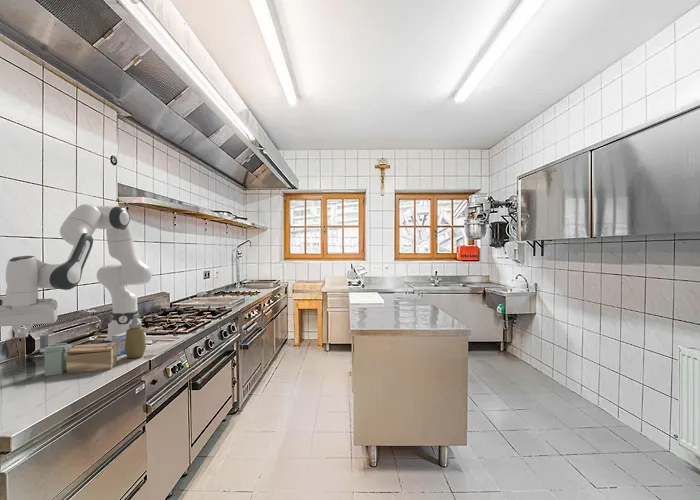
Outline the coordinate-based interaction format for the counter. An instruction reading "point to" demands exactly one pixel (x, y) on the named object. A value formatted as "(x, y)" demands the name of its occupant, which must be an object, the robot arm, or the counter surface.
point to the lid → (92, 348)
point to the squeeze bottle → (135, 339)
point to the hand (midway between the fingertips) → (22, 337)
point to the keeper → (55, 359)
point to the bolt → (45, 344)
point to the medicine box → (120, 342)
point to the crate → (91, 361)
